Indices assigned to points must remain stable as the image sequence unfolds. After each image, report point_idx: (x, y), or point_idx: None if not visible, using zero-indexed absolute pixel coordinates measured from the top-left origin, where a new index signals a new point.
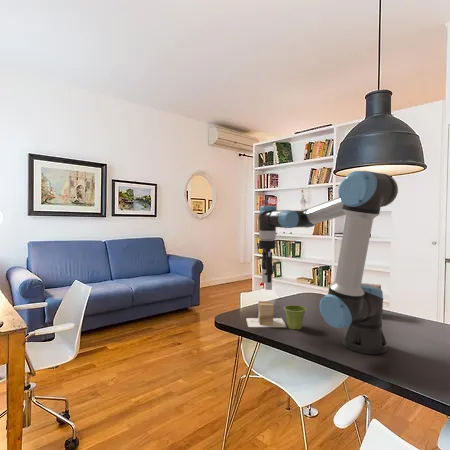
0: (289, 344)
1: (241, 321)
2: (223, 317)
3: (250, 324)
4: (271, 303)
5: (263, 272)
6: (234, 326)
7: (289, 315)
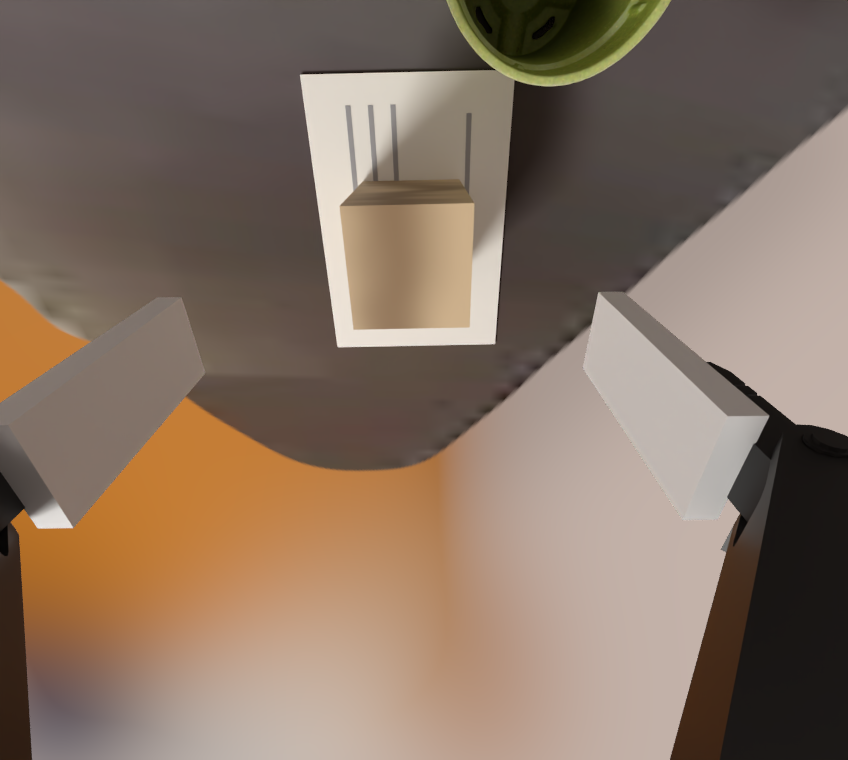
0: (823, 119)
1: (394, 372)
2: (336, 453)
3: (453, 328)
4: (425, 217)
5: (104, 460)
6: (477, 407)
7: (597, 37)
